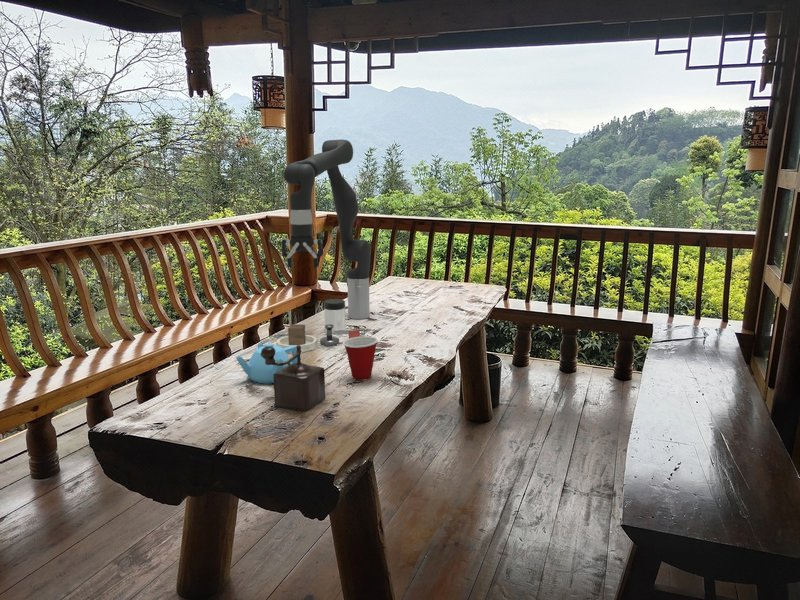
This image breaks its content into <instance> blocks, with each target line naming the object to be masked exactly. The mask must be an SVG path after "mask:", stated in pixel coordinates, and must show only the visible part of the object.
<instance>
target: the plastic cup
mask: <svg viewBox="0 0 800 600" xmlns="http://www.w3.org/2000/svg"><path fill="white" fill-rule="evenodd" d="M378 341H379V338H377V337H375V336H366V335H365V336H360V337H354V338H350V339H349V338H347V339H346V340H344V341H342V346H343V347H344V348H345V351H346V354H347V359H348V364H349V365H348V366H349V368H350V372H351V373H350V374H351V377H352V379H354V380H356V381H367V380H369V379H371V378H372V373H373V369H374V368H373V367H374V363H375V362H374V361H375V354H376V349H377V344H378Z"/></svg>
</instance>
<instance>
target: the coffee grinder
mask: <svg viewBox="0 0 800 600" xmlns="http://www.w3.org/2000/svg"><path fill="white" fill-rule="evenodd" d="M296 348H297V351H296V354H295V355H294V356H293V355H292V356H291V357H289V358H290V359H289V360H287V361H285V362H282V363H275V361H276V360H275V359H274V355H275V352H276V351H275V349H274V348H273V347H270V346H267V347H264V348H263V349H262V350H261V354H260V355H261V357H263V358H264V359H265V364H266V365H275V366H283V365H286V364H288V365H287V366H285V367H283V368H282V370H280V371H278V372H276V373H274V375H273V377H274V383H273V393H274V395H273V396H274V406H276V407H277V408H281V409H285V410H291V411H295V412H296V411H297V412H303V411H305V413H307V412H308V410H309V411H310V410H311V409H314V408H315V407H316V406H317V405H319V404H320V403H322V402H323V401H324V400H325V399H326V384H325V383H326V379H325V367H322V366H315V365H311V364H306V363H305V362H304V363H303V362H302V358H301V354H302V353H301V350H300V349H301V346H300V345H297V347H296ZM295 358H297V362H296V363H293V364H290V362H291V361H293V360H294V359H295ZM306 411H307V412H306Z"/></svg>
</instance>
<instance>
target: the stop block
mask: <svg viewBox="0 0 800 600" xmlns="http://www.w3.org/2000/svg"><path fill="white" fill-rule="evenodd" d="M287 331H288V332H287V333H288V334H287V336H288V337H289V345H304V344H305V343H306V338H305V335H306V324H300V323H299V324H298V323H297V324H294V323H293V324H290V325H289V326H288V328H287Z"/></svg>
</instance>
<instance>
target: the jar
mask: <svg viewBox="0 0 800 600" xmlns="http://www.w3.org/2000/svg"><path fill="white" fill-rule="evenodd" d="M323 306H324V307H323V308H324V309H323V311H324V312H323V313H324V326H325V325H328V324H331V325H334V328H332V334H333V330H346V300H344V299H340V298H339V299H338V298H331V299H326V300H324V301H323ZM324 333H326V334H327V329H326V328H325V327H324Z"/></svg>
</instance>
